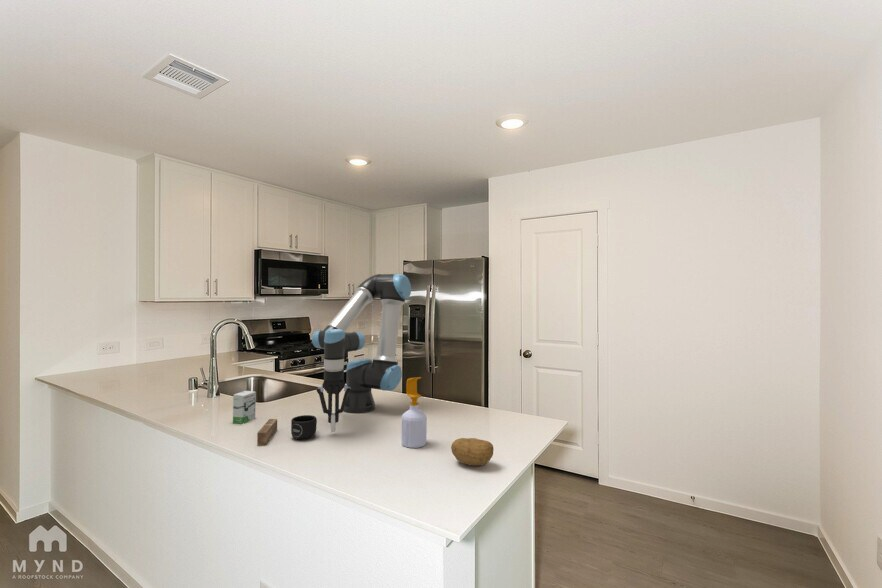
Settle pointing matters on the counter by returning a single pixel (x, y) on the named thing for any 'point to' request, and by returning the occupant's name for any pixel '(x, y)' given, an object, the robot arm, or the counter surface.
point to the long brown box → (267, 432)
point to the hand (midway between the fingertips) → (333, 430)
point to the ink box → (244, 406)
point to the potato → (472, 451)
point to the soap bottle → (413, 419)
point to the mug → (303, 427)
